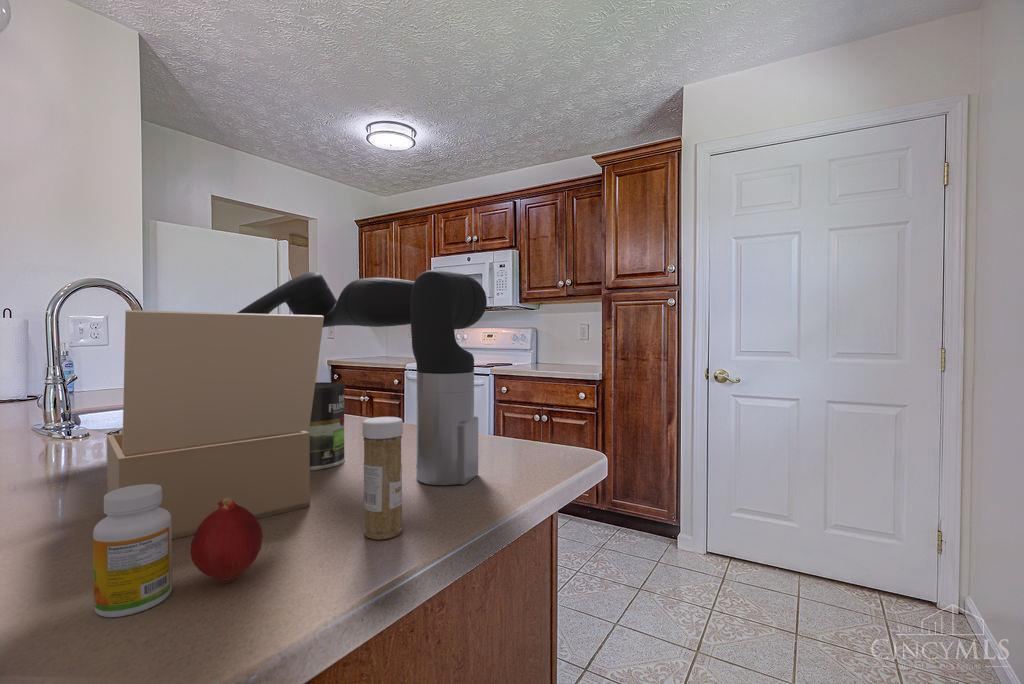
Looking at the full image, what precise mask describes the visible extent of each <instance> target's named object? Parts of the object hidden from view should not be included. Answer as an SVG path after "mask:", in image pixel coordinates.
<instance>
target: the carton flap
mask: <svg viewBox="0 0 1024 684" xmlns="http://www.w3.org/2000/svg"><path fill="white" fill-rule="evenodd" d="M124 316H125V318H124V319H125V320H124V321H125V322H124V323H125V324H124V326H125V328H124V360H123V361H124V362H123V364H124V365H123V368H124V369H123V402H122V403H123V404H122V406H123V407H122V433H123V441H122V453H123V455H126V454H134V453H141V452H149V451H156V450H164V449H171V448H178V447H186V446H193V445H201V444H208V443H216V442H223V441H231V440H238V439H245V438H253V437H260V436H268V435H275V434H283V433H290V432H298V431H305V430H309V427H310V419H311V412H312V404H313V397H314V389H315V383H317V373H318V368H319V367H318V365H319V358H320V351H321V350H320V349H321V341H322V334H323V328H324V327H323V321H324V316H322V315H293V314H290V313H289V314H287V313H286V314H284V313H280V314H279V313H269V314H252V313H237V312H215V311H214V312H213V311H212V312H211V311H210V312H207V311H177V310H176V311H173V310H172V311H171V310H168V311H167V310H140V309H139V310H137V309H136V310H135V309H134V310H133V309H132V310H131V309H130V310H129V309H125V315H124Z"/></svg>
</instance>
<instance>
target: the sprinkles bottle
mask: <svg viewBox="0 0 1024 684" xmlns="http://www.w3.org/2000/svg"><path fill="white" fill-rule="evenodd" d="M403 424H404V421H403V419H402V418H401V417H397V416H378V417H377V416H375V417H371V418H367V419H364V420H363V422H362V429H361V430H362V437H363V438H362V439H363V442H364V443H363V452H364V453H363V507H364V529H363V535H364V536H365V537H366V538H368V539H372V540H377V541H378V540H387V539H388V540H389V539H392V538H394V537H396V536H398V535H399V534H401V532H402V531H403V529H404V525H403V516H402V513H403V511H402V509H403V508H402V507H403V506H402V503H403V477H402V476H403V475H402V474H403V469H402V468H403V467H402V465H403V464H402V436H403V434H404V425H403Z"/></svg>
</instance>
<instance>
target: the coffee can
mask: <svg viewBox="0 0 1024 684" xmlns="http://www.w3.org/2000/svg"><path fill="white" fill-rule="evenodd" d="M345 388H346V384H345V383H342V382H327V381H326V382H322V381H321V382H315V389H314V397H313V404H312V412H311V419H310V427H309V430H305V431H307V432H309V433H310V471H318V470H326V469H330V468H334V467H337V466H340V465H342V464H344V462H345V461H346V459H345Z"/></svg>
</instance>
